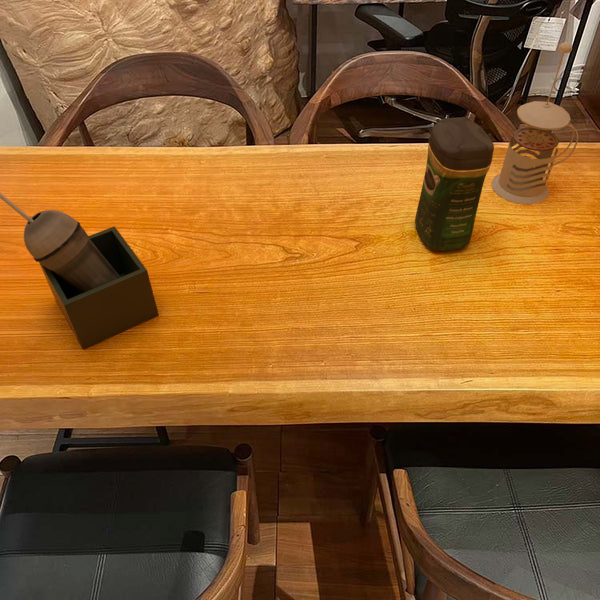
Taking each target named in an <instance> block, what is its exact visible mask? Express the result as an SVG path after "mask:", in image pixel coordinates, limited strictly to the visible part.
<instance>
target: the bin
mask: <svg viewBox="0 0 600 600" xmlns="http://www.w3.org/2000/svg"><path fill="white" fill-rule="evenodd" d="M88 238H89V239H90V240H91V241H92V243H93V244H94V245H95V246H96V248H97V249H98V250H99V251H100V252H101V254H102V255H103V256H104V257H105V259H106V260H107V261H108V262H109V263H110V265H111V266H112V267H113V268H114V270H115V271H116V272H117V273H118V274H119V276H120V278H118V279H116V280H113V281H111V282H109V283H106V284H104V285H101V286H99V287H97V288H94V289H92V290H89V291H87V292H85V293H82V294H81V293H80V292H79V291H77V290H76V289H75V288H74V287H72V286H71V285H70V284H69V283H67V282H66V281H65V280H64V279H62V278H61V277H60V276H59V275H57V274H56V273H55V272H54V271H52V270H49V269H48V268H46V267H45V266H43V265H42V264H41V263H40V262H38V263H39V266H40V268H41V270H42V272H43V275H44V277H45V279H46V282H47V284H48V286H49V288H50V291H51V293H52V296H53V298H54V299H55V302H56V304H57V306H58V307H59V309H60V311H61V313H62V314H63V317H64V318H65V320H66V322H67V323H68V326H69V327H70V330H71V331H72V333H73V335H74V337H75V338H76V340H77V342H78V343H79V345H80V348H81V349H82V350H86V349H88V348H91V347H92V346H95V345H97V344H99V343H102V342H103V341H105V339H106V340H108V339H110V338H113V337H114V336H116V335H119V334H121V333H123V332H125V331H128V330H129V329H132V328H134V327H136V326H138V325H140V324H143V323H145V322H147V321H150V320H152V319H154V318H157V317H158V316H159V315H160V314H159V311H158V306H157V303H156V299H155V295H154V292H153V288H152V283H151V279H150V276H149V271H148V269H147V268H146V267H145V265H144V264H143V262H142V261H141V260H140V258H139V257H138V255H137V254H136V253H135V252H134V250H133V249H132V248H131V246H130V245H129V243H128V242H127V241H126V240H125V238H124V237H123V235H122V234H121V233H120V231H119V230H118V228H117V227H116V226H111V227H108V228H106V229H104V230H101V231H98V232H95V233H93V234H90V235H88Z"/></svg>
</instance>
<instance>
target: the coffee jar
mask: <svg viewBox="0 0 600 600" xmlns="http://www.w3.org/2000/svg"><path fill="white" fill-rule="evenodd" d="M494 150H495V143H494V142H493V141H492V139H491V138H490V136H489V135H488V134H487V132H486V131H485V130H484V129H483V127H481V126H480V125H479V124H478V123H476V122H474V120H471V119H470V118H469V117H467V116H465V117H463V116H461V117H446V118H442V119H440V120H439V121H438V122H437V123H436V124H435V125H434V126H433V128H432V130H431V132H430V137H429V140H428V145H427V158H426V166H425V170H424V171H425V172H424V177H423V181H422V185H421V191H420V196H419V200H418V204H417V208H416V213H415V216H414V217H415V218H414V225H415V229H416V232H417V234H418V236H419V237H420V239H421V241H422V242H423V244H424V246H426V247H427V248H428V249H430V250H433V251H436V252H444V253H445V252H447V253H448V252H450V253H451V252H457V251H459V250H462V249H465V248H467V247H468V246H469V245H470V242H471V240H472V235H473V231H474V227H475V222H476V218H477V217H476V216H477V212H478V208H479V204H480V199H481V195H482V192H483V187H484V183H485V180H486V177H487V174H488V172H489V171H490V168H491V166H492V162H493V156H494V152H495V151H494Z"/></svg>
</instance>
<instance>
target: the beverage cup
mask: <svg viewBox="0 0 600 600" xmlns="http://www.w3.org/2000/svg"><path fill="white" fill-rule="evenodd" d="M0 199H1V200H2V201H3V202H4V203H5V204H7V205H8V206H9V207H11V209H13V210H14V211H15V212H16V213H18V214H19V215H20V216H21V217H22V218H24V219H25V221H27V222H26V224H25V227H24V230H23V242H24V245H25V247H26V250H27V251H28V253H29V254H30V255H31V256H32V258H33V260H34V261H35V262H36V263H39V262H40V263H41V264H42V265H43V266H45V267H46V268H48V269H49V270H52V271H54V272H55V273H56V274H57V275H59V276H60V277H61V278H62V279H64V280H65V281H66V282H67V283H69V284H70V285H71V286H72V287H74V288H75V289H76V290H77V291H79V292H80V293H81V294H82V293H85V292H87V291H89V290H92V289H94V288H97V287H99V286H101V285H104V284H106V283H109V282H111V281H113V280H116V279H118V278H120V276H119V274H118V273H117V272H116V271H115V270H114V268H113V267H112V266H111V265H110V263H109V262H108V261H107V260H106V259H105V257H104V256H103V255H102V254H101V252H100V251H99V250H98V249H97V248H96V246H95V245H94V244H93V243H92V241H91V240H90V239H89V238H88V236H89V235H88V233H87V232H86V230H85V229H84V228H83V226H82V225H81V222H80V221H78V220H76V219H75V218H74V217H72V215H71V216H70V215H69V214H67V213H65V212H63V211H60V210H55V209H47V210H42V211H39V212H37V213H35V214H34V215H33V216H30V215H28V214H27V213H26V212H25V211H23V210H22V209H21V208H20V207H19V206H17V205H16V204H15V203H14V202H13V201H12V200H10V199H9V198H8V197H7V196H5V195H4V194H3V193H2V192H0ZM40 263H39V264H40Z"/></svg>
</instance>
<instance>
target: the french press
mask: <svg viewBox="0 0 600 600" xmlns="http://www.w3.org/2000/svg"><path fill="white" fill-rule="evenodd" d="M557 51H558V52H560V53H562V55H561V58H560V61H559V65H558V67H557V71H556V72H555V73H556V74H555V76H554V79H553V82H552V86H551V89H550V92H549V94H548V95H549V96H548V98H547V101H539V100H534V101H529V102H526V103H524V104H522V105H520V106H519V107H518V108H517V110H516V113H517V118H518V119H519V120H520V122H522V123H523V124H524V125H526V126H524V127H520V128H518V129H516V130H515V131H514V133H513V134H512V137H511V138H510V140H509V143H508V145H507V150H506V152H505V156H504V160H503V163H502V166H501V170H500V173H499V174H497V175H495V176H494V177H493V178H492V180H491V189H492V190H493V191H494V193H496V195H497V196H499V197H501V198H503V199H504V200H505V201H508V202H511V203H514V204H518V205H519V204H520V205H535V204H539V203H542V202H543V201H545V200H547V199H548V197H549V195H550V189H549V186H548V185H547V182H548V180H549V178H550V174H551V172H552V170H553V167H555V166H556V165H559V164H562V163H564V162H565V161H567V159H568V158H570V157H571V155H572V154H573V153H574V151H575V150H576V148H577V145H578V142H579V133H578V130H577V129H576V128H575V126H574V125H573V123H572V122H571V117H570V113H569V112H568V111H566V109H564V107H563V106H562V107H561V106H560V105H557V104H555V103H553V102H552V101H550V99H551V96H552V93H553V90H554V87H555V85H556V84H555V83H556V81H557V77H558V74H559V72H560V68H561V65H562V63H563V59H564V56H565V54H571V52H572V51H573V46H572V43H571V42H570V41H569V42H568V41H564V42H562V43H559V45H558V47H557ZM568 127H569V128H570V129H572V135H571V139H570V142H569V143H568V145H567V146H566V148H565V149H564V150H563V151H562V152H561V153H559V154H558V152H559V149H558V145H559V144H560V140H559V137H558V136H557V135H556V134H555V133H554V132H553V131H557V130H560V131H561V132H562V133H565V131H566V130H567V128H568ZM563 128H564V129H563ZM575 137H576V139H575V143H574V145H573V148H572V150H571V151H570V152H569V154H568V155H567V156H566V157H565V158H563V159H562V160H560V161H556V162H555V160H556V159H557V158H559V157H561V156H563V154H565V153H566V152H567V150H568V149H569V148H570V146H571V145H572V143H573V140H574V138H575ZM514 146H515V147H514ZM513 147H514V148H513ZM521 148H524V149H521ZM518 149H519V150H518ZM554 149H555V150H554ZM517 150H518V151H517ZM537 152H538V153H537ZM522 154H528V155H530V156H533V158H532V157H529V156H527V155H522ZM557 154H558V155H557ZM552 155H553V156H552ZM534 157H535V158H534ZM544 178H545V179H544Z"/></svg>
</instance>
